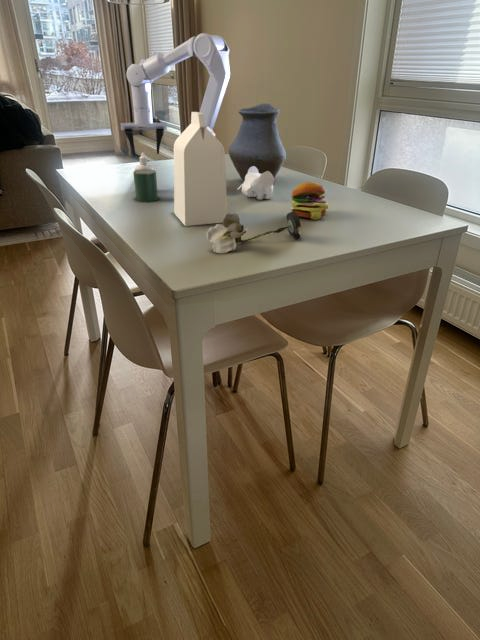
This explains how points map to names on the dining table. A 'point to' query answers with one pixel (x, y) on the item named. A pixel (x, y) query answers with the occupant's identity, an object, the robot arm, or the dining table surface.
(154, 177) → the green tin can
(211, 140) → the milk
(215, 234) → the artificial flower
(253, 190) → the elephant figurine
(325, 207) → the cheeseburger
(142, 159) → the eye dropper bottle
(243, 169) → the grey clay vase
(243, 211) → the dining table surface
